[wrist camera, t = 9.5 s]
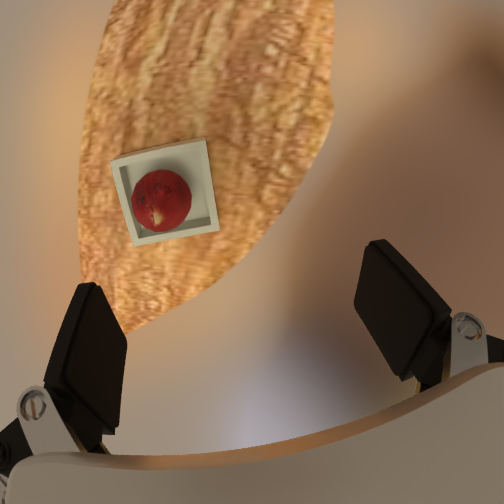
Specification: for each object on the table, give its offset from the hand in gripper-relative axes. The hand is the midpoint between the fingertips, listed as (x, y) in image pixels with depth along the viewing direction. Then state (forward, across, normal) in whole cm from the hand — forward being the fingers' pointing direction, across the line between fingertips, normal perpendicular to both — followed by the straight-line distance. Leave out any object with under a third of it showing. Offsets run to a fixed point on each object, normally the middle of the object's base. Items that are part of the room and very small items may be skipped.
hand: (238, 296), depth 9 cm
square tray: (+22, +5, +3) cm, 23 cm away
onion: (+22, +5, +3) cm, 23 cm away
